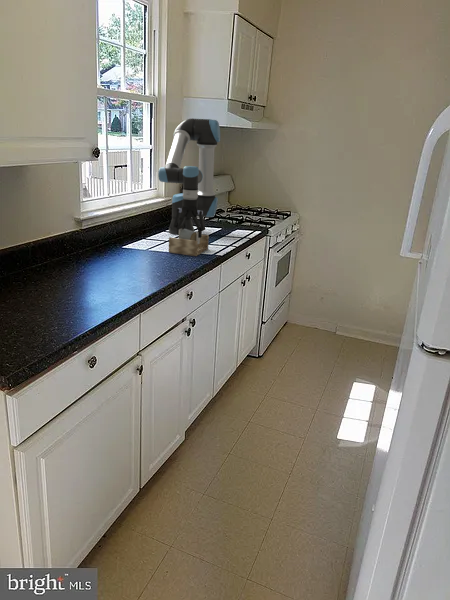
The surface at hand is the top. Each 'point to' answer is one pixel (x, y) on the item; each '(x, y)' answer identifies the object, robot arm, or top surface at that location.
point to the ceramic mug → (187, 235)
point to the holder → (188, 246)
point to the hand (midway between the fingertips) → (189, 242)
